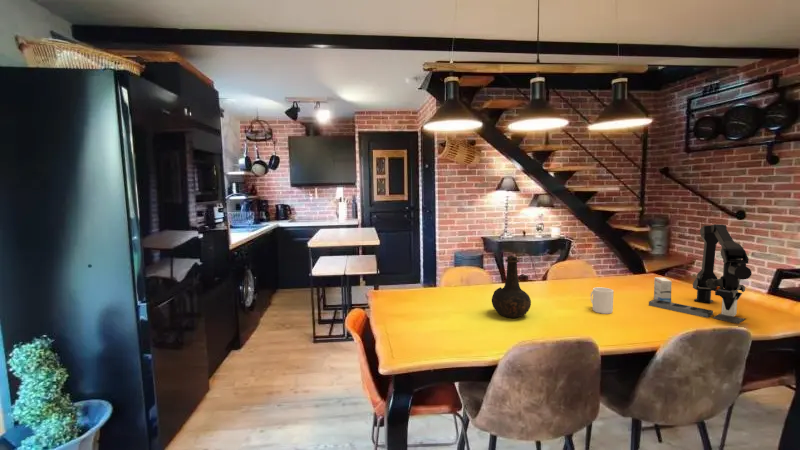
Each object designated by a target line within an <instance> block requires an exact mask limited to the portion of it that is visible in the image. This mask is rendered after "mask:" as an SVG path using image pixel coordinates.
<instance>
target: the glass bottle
mask: <svg viewBox="0 0 800 450" xmlns="http://www.w3.org/2000/svg"><path fill="white" fill-rule="evenodd" d="M506 258H507V259H505V262H506V277H505V282H504V286H503V287H499V288H496V289H495V290H494V291H493V294H492V296H491V304H492V307H493V309H494V310H495V311H496V312H497V313H498V314H499V315H501V316H502V317H504V318H509V319H510V318H512V319H513V318H514V319H515V318H520V317H524V315H526V314H527V313H528V312H529V311H530V308H531V305H532V301H531V298H530V295H529V294H528V293H527V292H526V291H525V290H523V289H522V288H521V287H520V282H519V274H518V263H519V262H520V260H518V257H517V256H515V255H508V256H507V257H506Z"/></svg>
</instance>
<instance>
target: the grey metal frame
mask: <svg viewBox="0 0 800 450" xmlns="http://www.w3.org/2000/svg"><path fill="white" fill-rule="evenodd" d="M648 306H650V307H653V308H659V309H662V310H663V309H664V310H668V311H673V312H679V313H682V314H687V315H692V316H696V317H701V318H706V319H708V318H710V317H712V316H714V310H711V309H707V308H701V307H697V306H691V305H686V304H681V303H677V302H672V301H671V302H667V301H662V300H657V299H654V298H653V299H651V300H649V301H648Z"/></svg>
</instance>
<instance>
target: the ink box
mask: <svg viewBox="0 0 800 450" xmlns="http://www.w3.org/2000/svg"><path fill="white" fill-rule="evenodd" d="M653 282H654V283H653V284H654V285H653V288H654V289H653V300H654V299H657V300H662V301H667V302H672V285H673V284H672V283H673V281H672V280H670V279H668V278H666V277H657V276H656V277H654V279H653Z"/></svg>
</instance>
